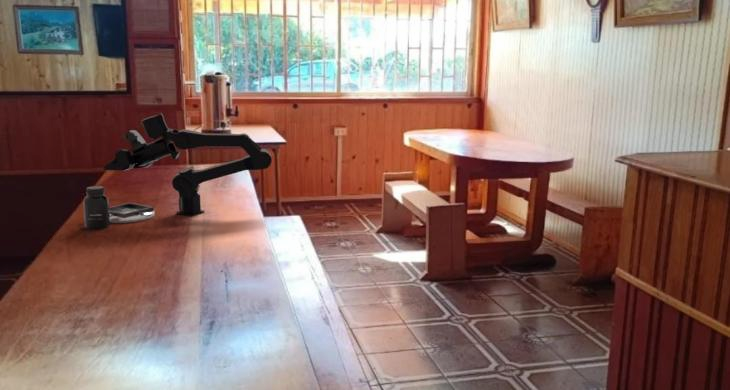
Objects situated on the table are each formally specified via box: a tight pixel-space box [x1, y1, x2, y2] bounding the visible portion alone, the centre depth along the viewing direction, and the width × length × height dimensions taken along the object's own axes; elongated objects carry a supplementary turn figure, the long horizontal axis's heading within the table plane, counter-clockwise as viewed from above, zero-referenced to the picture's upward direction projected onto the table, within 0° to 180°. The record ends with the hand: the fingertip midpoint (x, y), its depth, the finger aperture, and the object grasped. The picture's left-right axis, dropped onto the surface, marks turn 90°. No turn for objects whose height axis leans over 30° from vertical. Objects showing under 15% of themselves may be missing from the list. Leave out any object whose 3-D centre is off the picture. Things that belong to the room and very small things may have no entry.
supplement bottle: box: [82, 185, 111, 231], centre depth 183 cm, size 7×7×12 cm
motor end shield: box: [109, 202, 155, 224], centre depth 197 cm, size 16×16×3 cm
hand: (111, 167), depth 198 cm, fingers open, 9 cm apart
